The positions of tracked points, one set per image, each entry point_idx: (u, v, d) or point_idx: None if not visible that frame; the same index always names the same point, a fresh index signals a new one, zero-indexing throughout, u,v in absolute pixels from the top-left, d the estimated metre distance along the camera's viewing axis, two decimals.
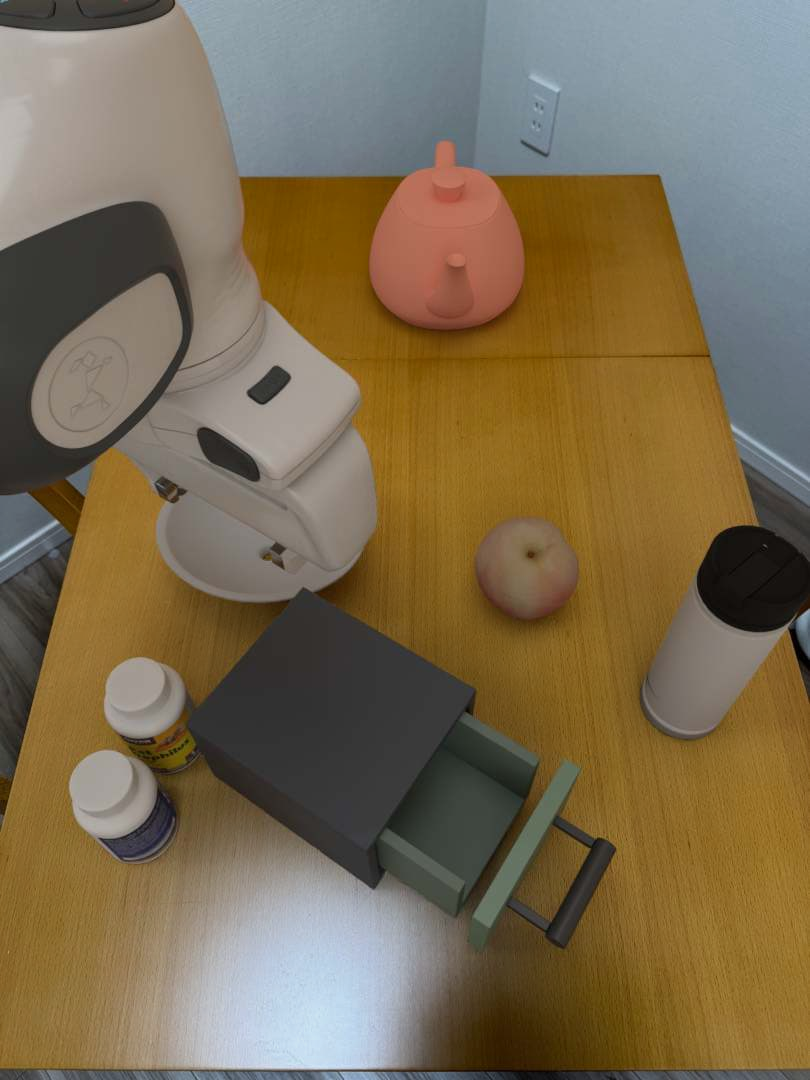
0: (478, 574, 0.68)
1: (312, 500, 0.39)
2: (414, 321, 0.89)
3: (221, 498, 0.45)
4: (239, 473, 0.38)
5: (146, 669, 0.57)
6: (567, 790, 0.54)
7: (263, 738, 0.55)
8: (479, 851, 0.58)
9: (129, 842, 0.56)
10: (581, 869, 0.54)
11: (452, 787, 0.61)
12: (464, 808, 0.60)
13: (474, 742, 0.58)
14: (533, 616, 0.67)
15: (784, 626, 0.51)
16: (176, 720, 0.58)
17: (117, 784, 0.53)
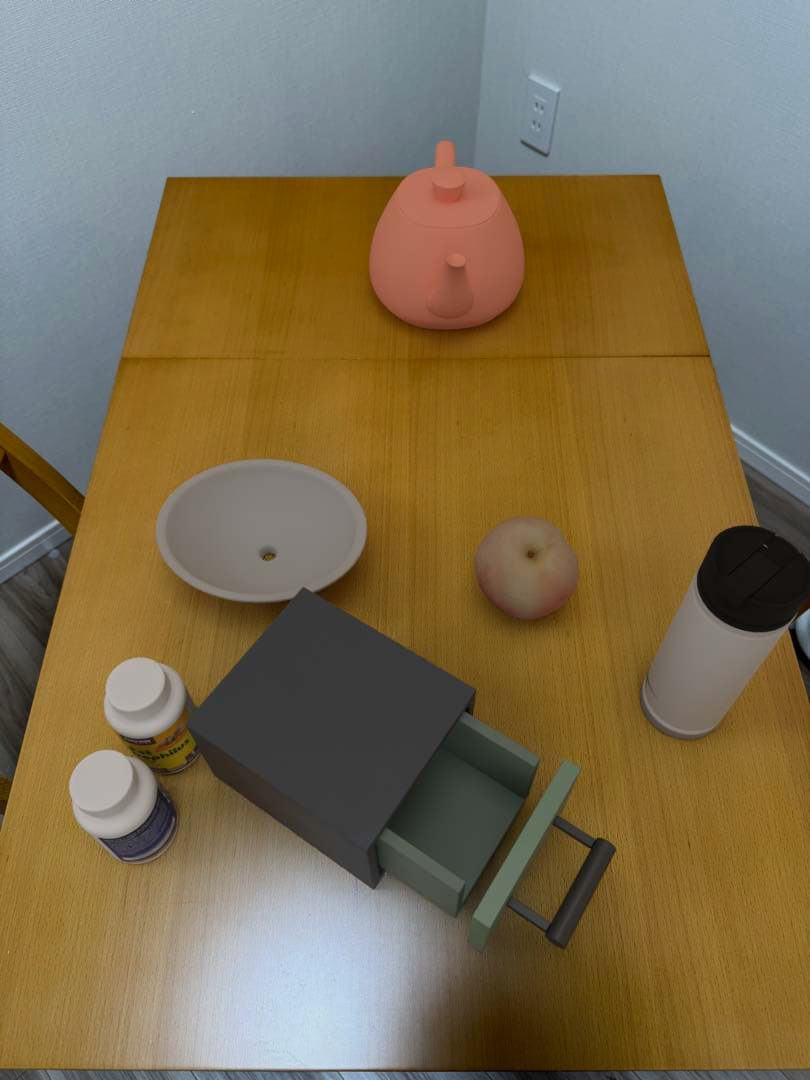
0: (478, 574, 0.68)
1: None
2: (414, 321, 0.89)
3: None
4: None
5: (146, 669, 0.57)
6: (567, 790, 0.54)
7: (263, 738, 0.55)
8: (479, 851, 0.58)
9: (129, 842, 0.56)
10: (581, 869, 0.54)
11: (452, 787, 0.61)
12: (464, 808, 0.60)
13: (474, 742, 0.58)
14: (533, 616, 0.67)
15: (784, 626, 0.51)
16: (176, 720, 0.58)
17: (117, 784, 0.53)
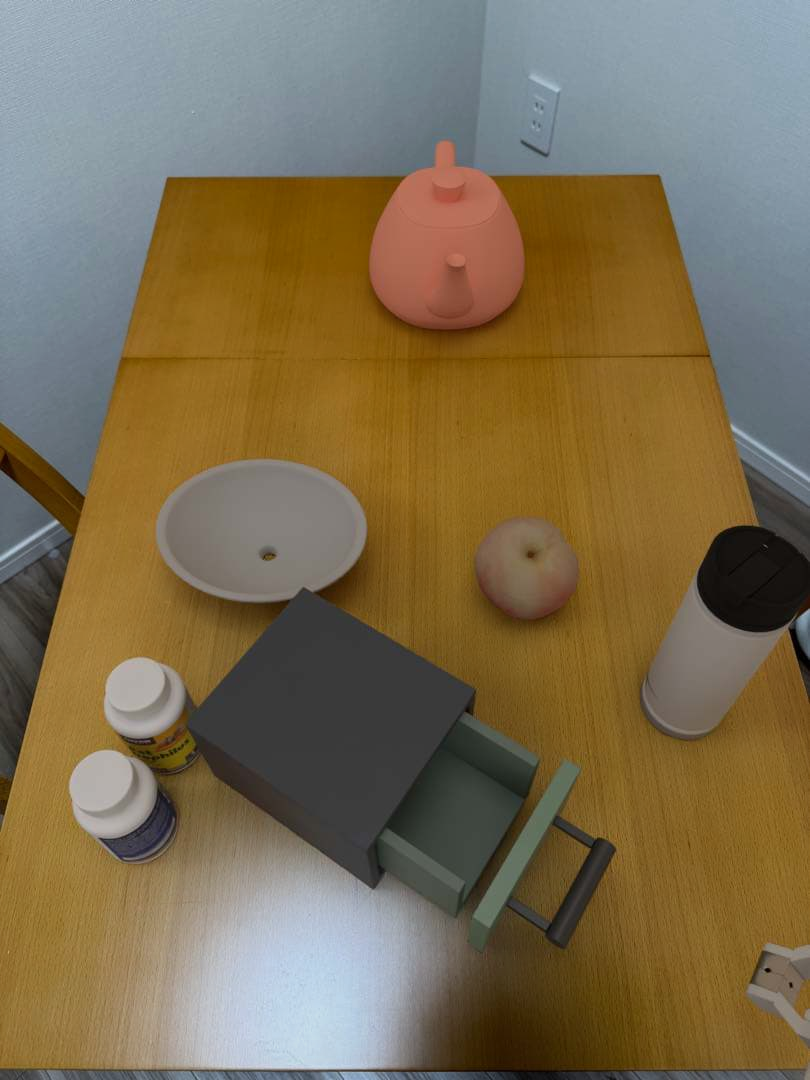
0: (478, 574, 0.68)
1: None
2: (414, 321, 0.89)
3: None
4: None
5: (146, 669, 0.57)
6: (567, 790, 0.54)
7: (263, 738, 0.55)
8: (479, 851, 0.58)
9: (129, 842, 0.56)
10: (581, 869, 0.54)
11: (452, 787, 0.61)
12: (464, 808, 0.60)
13: (474, 742, 0.58)
14: (533, 616, 0.67)
15: (784, 626, 0.51)
16: (176, 720, 0.58)
17: (117, 784, 0.53)
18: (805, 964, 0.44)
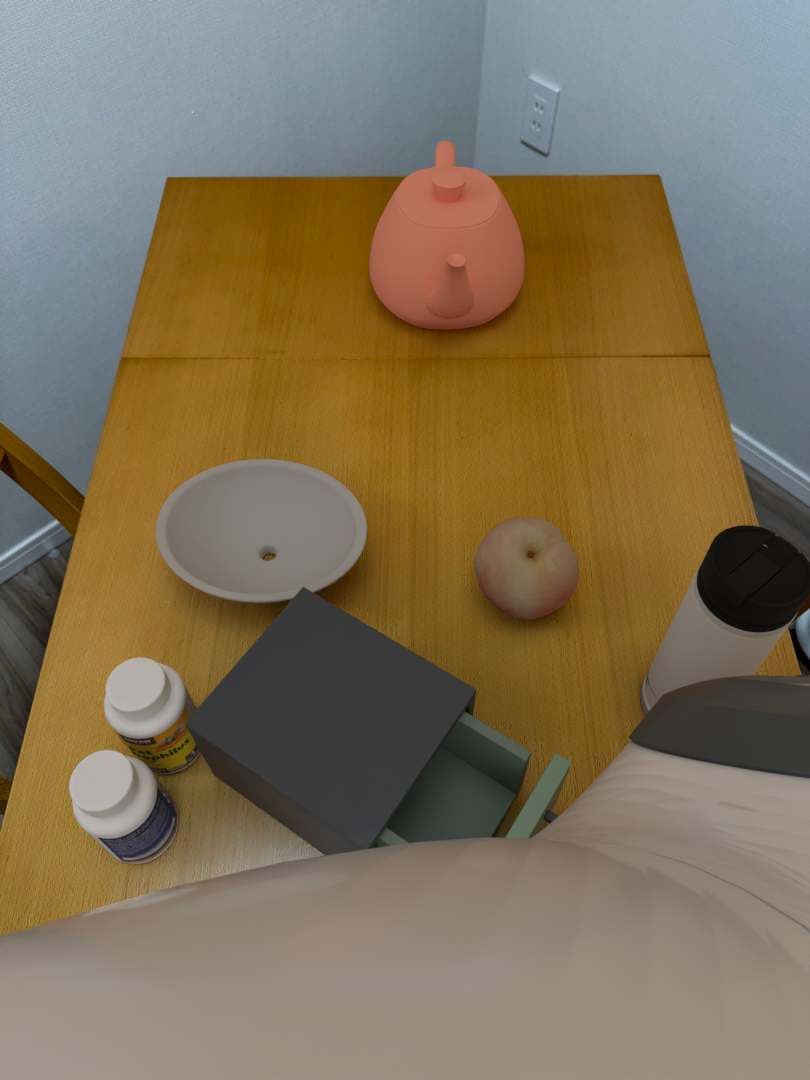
0: (478, 574, 0.68)
1: None
2: (414, 321, 0.89)
3: None
4: None
5: (146, 669, 0.57)
6: (558, 784, 0.54)
7: (263, 738, 0.55)
8: None
9: (129, 842, 0.56)
10: None
11: (444, 782, 0.61)
12: (456, 803, 0.60)
13: (466, 737, 0.58)
14: (533, 616, 0.67)
15: (784, 626, 0.51)
16: (176, 720, 0.58)
17: (117, 784, 0.53)
18: None
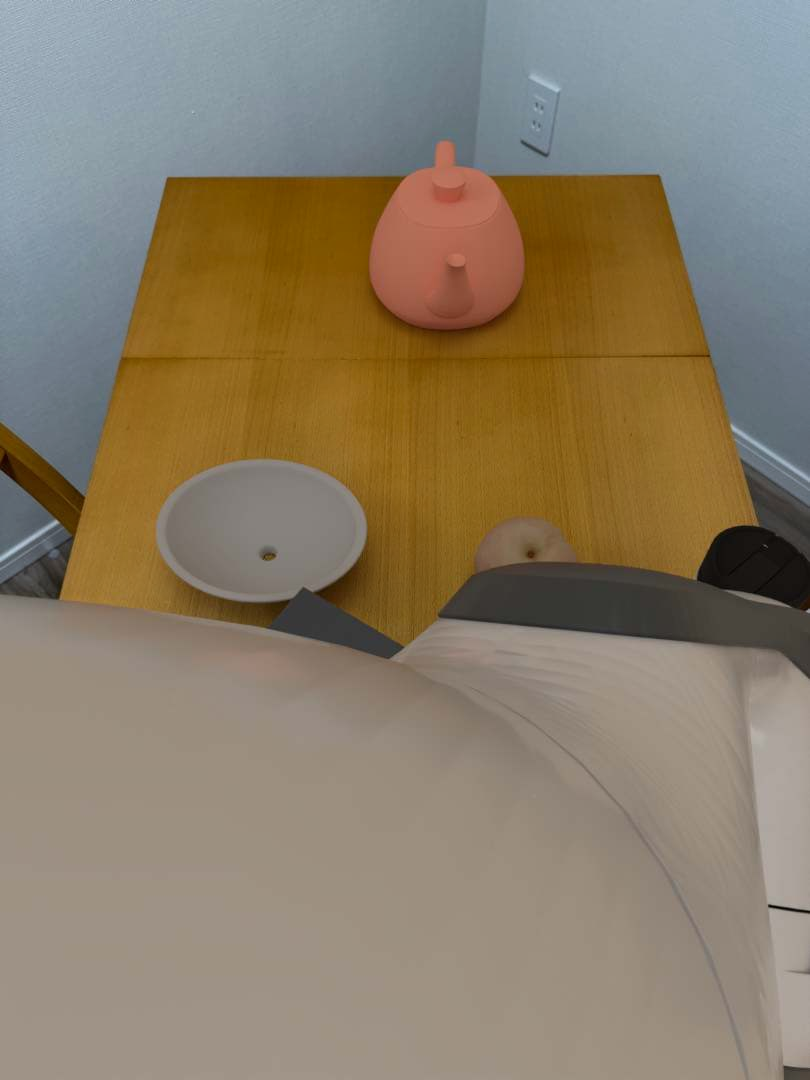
0: None
1: None
2: (414, 321, 0.89)
3: None
4: None
5: None
6: None
7: None
8: None
9: None
10: None
11: None
12: None
13: None
14: None
15: None
16: None
17: None
18: None
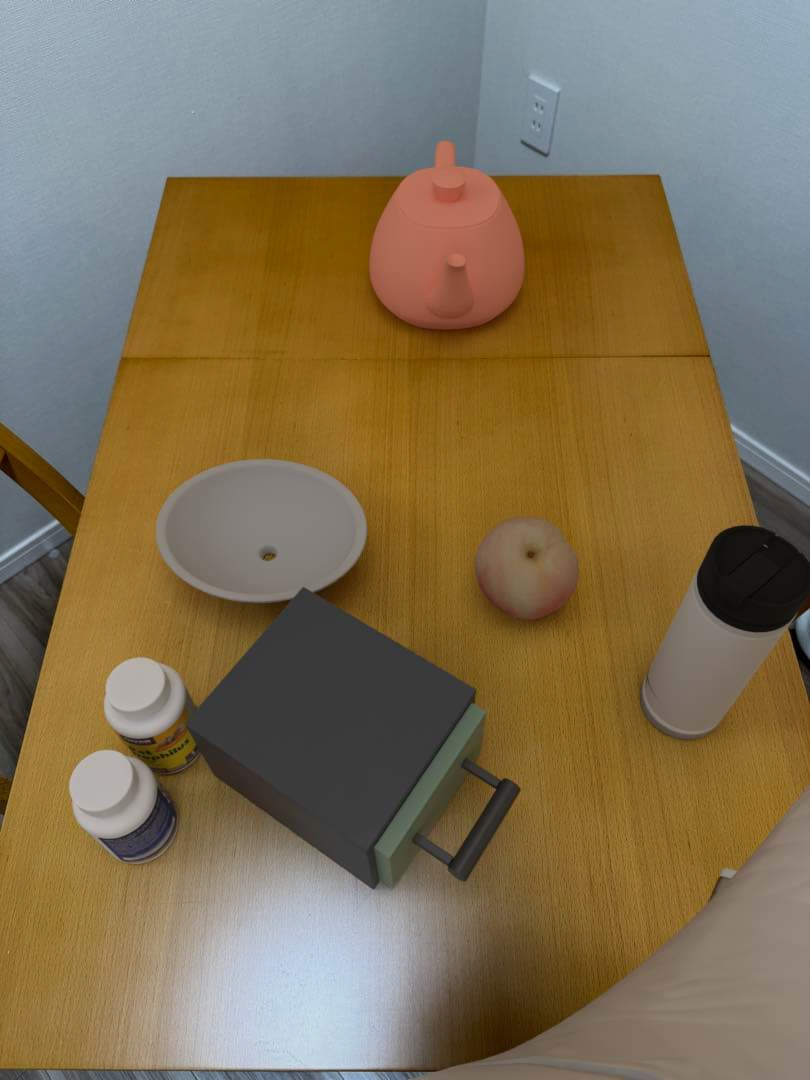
0: (478, 574, 0.68)
1: None
2: (414, 321, 0.89)
3: None
4: None
5: (146, 669, 0.57)
6: (472, 731, 0.56)
7: (263, 738, 0.55)
8: None
9: (129, 842, 0.56)
10: (485, 807, 0.56)
11: None
12: None
13: None
14: (533, 616, 0.67)
15: (784, 626, 0.51)
16: (176, 720, 0.58)
17: (117, 784, 0.53)
18: None
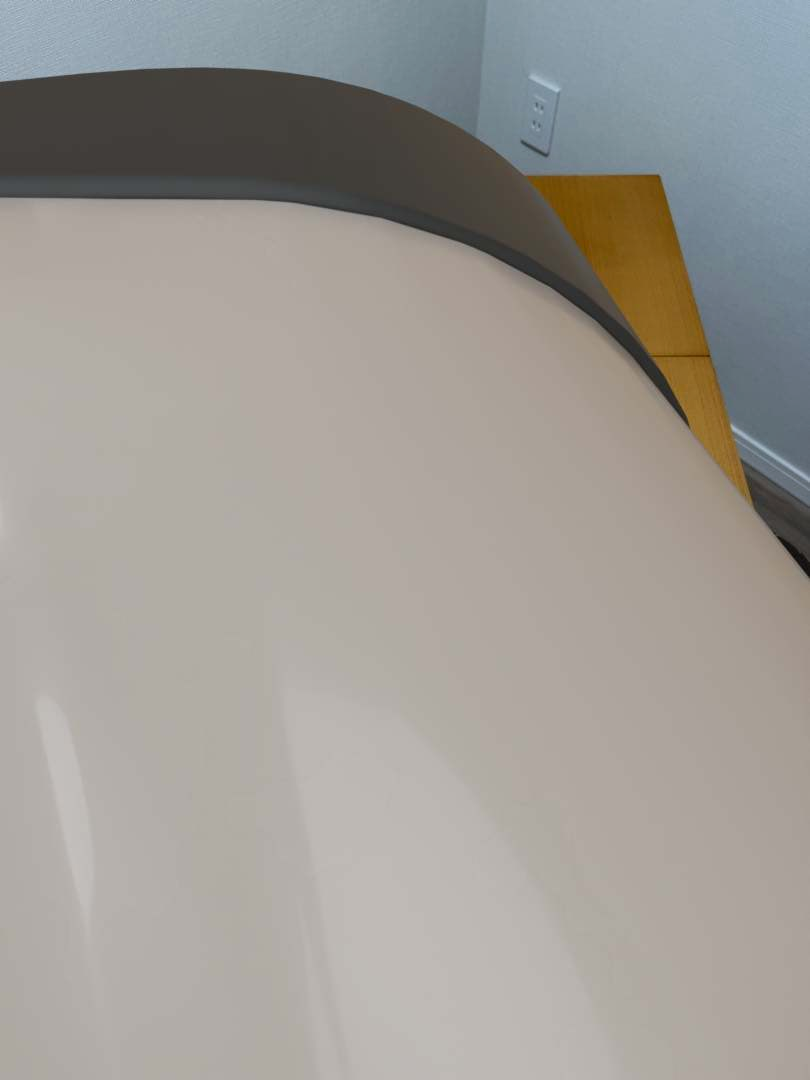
0: None
1: None
2: None
3: None
4: None
5: None
6: None
7: None
8: None
9: None
10: None
11: None
12: None
13: None
14: None
15: None
16: None
17: None
18: None
